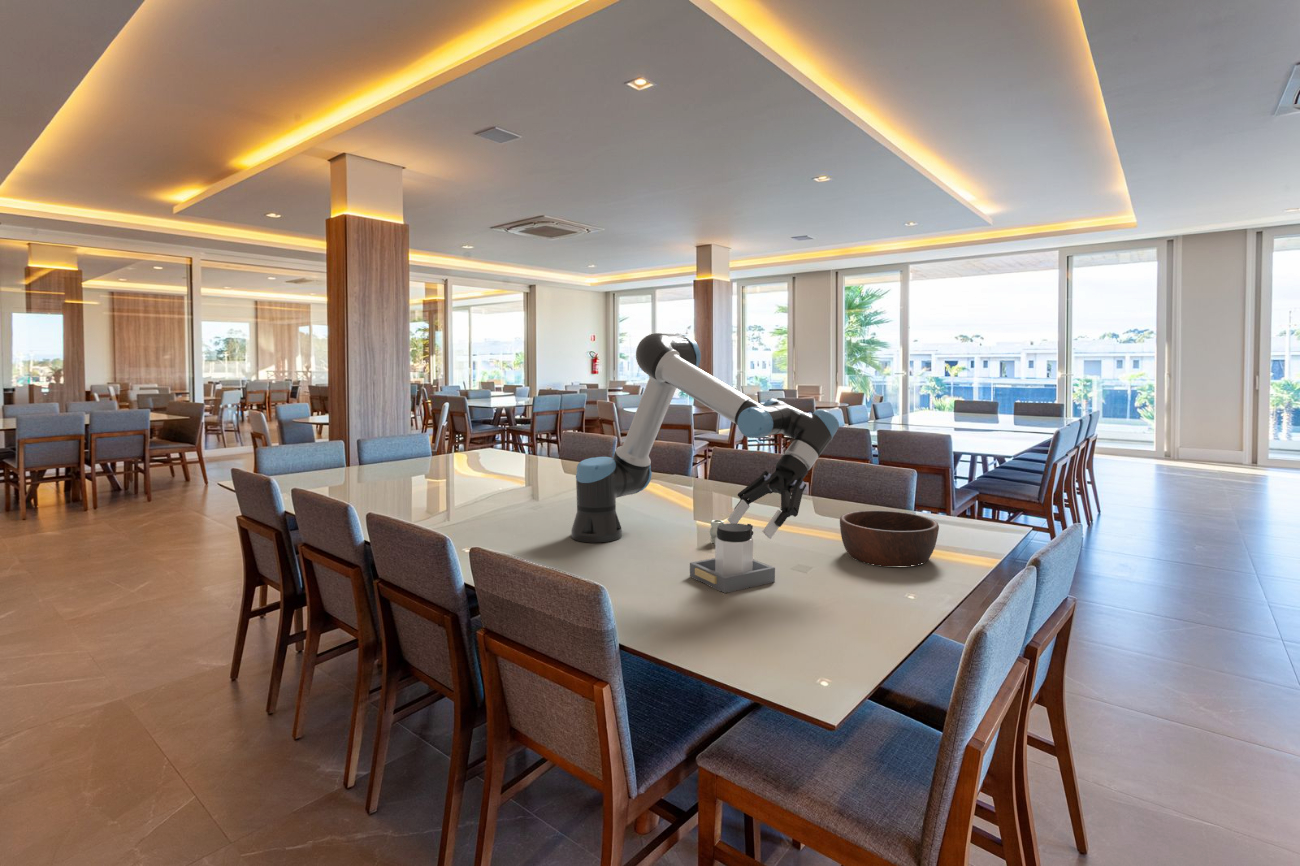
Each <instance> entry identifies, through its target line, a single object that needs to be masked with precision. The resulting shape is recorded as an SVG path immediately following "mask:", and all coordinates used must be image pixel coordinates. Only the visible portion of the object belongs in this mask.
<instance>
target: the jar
mask: <svg viewBox="0 0 1300 866" xmlns="http://www.w3.org/2000/svg"><path fill="white" fill-rule="evenodd" d="M714 545H715V546H714V547H715V554H714V555H715V557H714V558H715V572H717V573H719V574H721V575H724V576H730V575H735V574H739V573H744V572H749V571H753V557H754V555H753V554H754V539H753V537H752V538H751V527H750V526H748V525H747V524H745V523H743V524H742V523H737V524H734V523H724V524H722V525H719V526H718V527H717V537H716V538H715V544H714Z"/></svg>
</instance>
